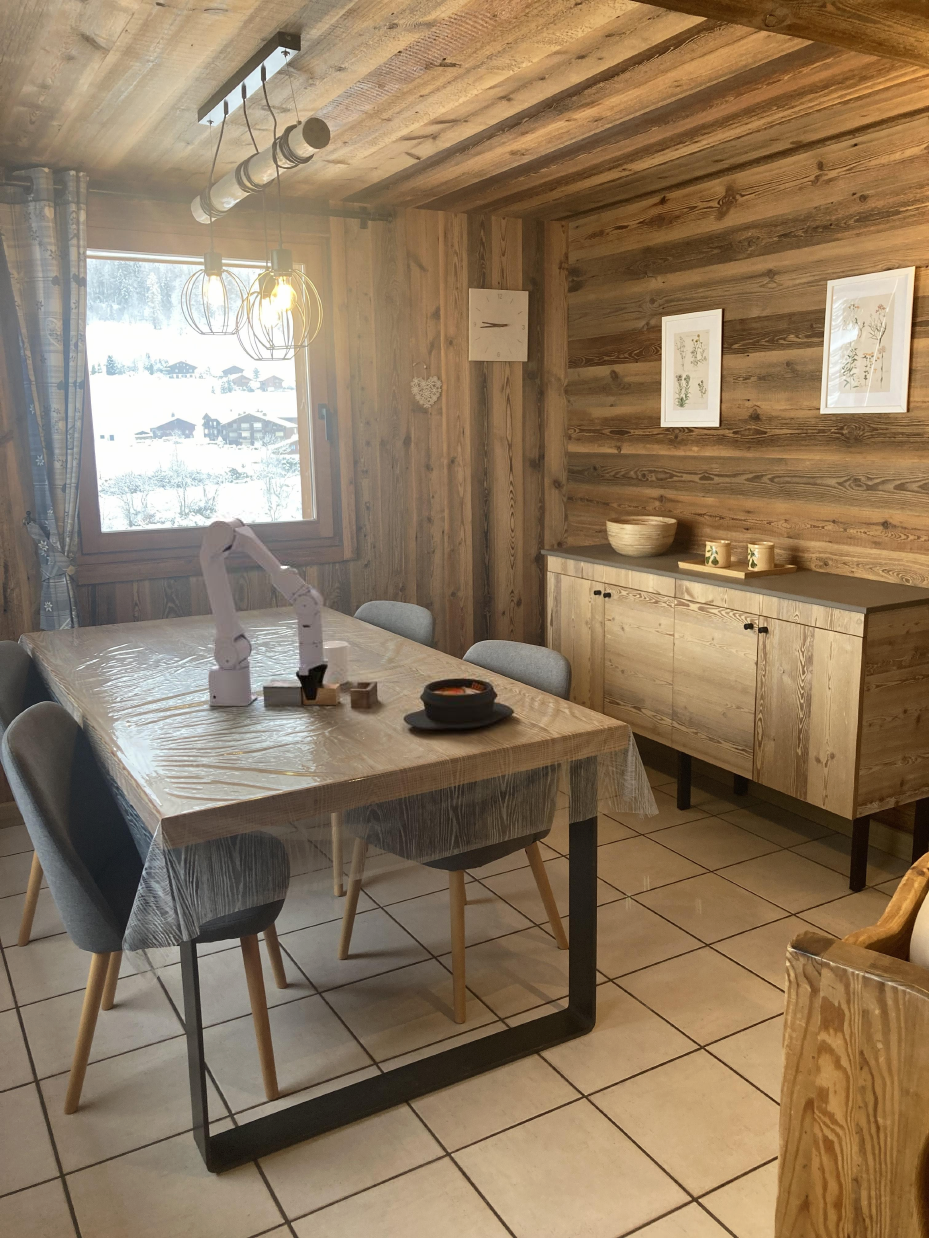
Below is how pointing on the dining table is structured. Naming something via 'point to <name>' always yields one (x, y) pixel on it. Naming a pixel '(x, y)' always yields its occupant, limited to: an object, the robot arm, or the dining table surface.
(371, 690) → the socket
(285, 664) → the dining table surface
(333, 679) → the white cup
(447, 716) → the casserole
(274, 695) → the sleeve
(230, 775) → the dining table surface
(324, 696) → the tan wooden bar
